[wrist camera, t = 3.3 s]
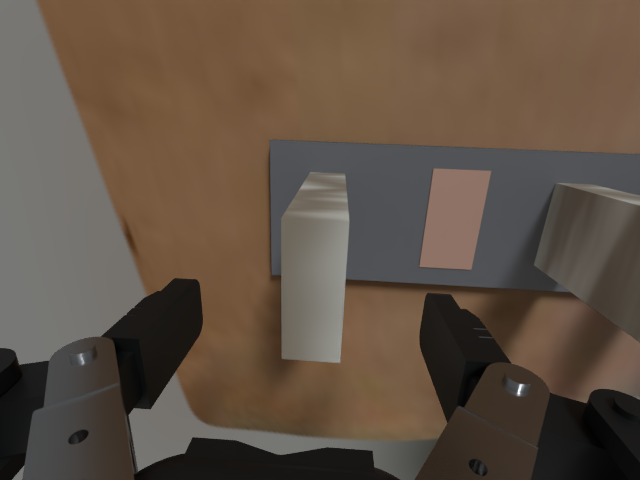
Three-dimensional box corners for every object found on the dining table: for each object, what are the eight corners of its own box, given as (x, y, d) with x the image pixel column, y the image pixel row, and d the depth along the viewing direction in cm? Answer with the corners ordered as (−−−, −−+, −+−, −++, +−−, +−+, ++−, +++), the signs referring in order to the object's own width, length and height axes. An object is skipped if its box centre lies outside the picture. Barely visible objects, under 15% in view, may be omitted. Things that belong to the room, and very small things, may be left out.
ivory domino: (592, 184, 22) (854, 246, 11) (567, 267, 24) (767, 392, 13) (555, 182, 22) (776, 243, 11) (533, 265, 24) (702, 387, 13)
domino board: (1015, 169, 21) (1049, 171, 20) (917, 306, 25) (942, 314, 24) (272, 139, 23) (269, 140, 22) (273, 269, 27) (271, 275, 26)
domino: (345, 173, 23) (349, 221, 12) (340, 254, 25) (339, 363, 14) (310, 172, 23) (281, 218, 12) (308, 252, 25) (281, 358, 14)
